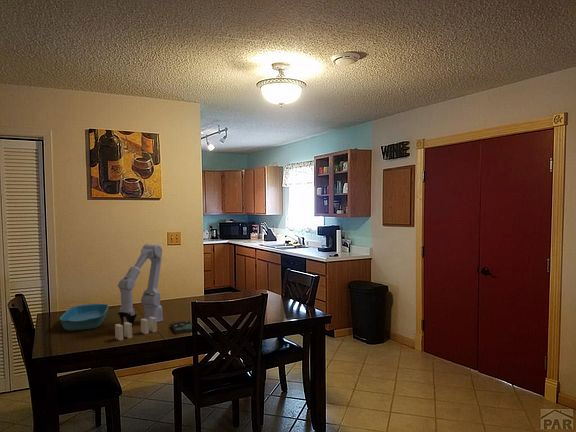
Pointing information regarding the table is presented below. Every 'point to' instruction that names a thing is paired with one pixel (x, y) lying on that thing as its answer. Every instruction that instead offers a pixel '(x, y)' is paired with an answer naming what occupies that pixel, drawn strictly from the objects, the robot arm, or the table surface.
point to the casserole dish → (84, 316)
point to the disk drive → (181, 327)
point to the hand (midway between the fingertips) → (127, 326)
